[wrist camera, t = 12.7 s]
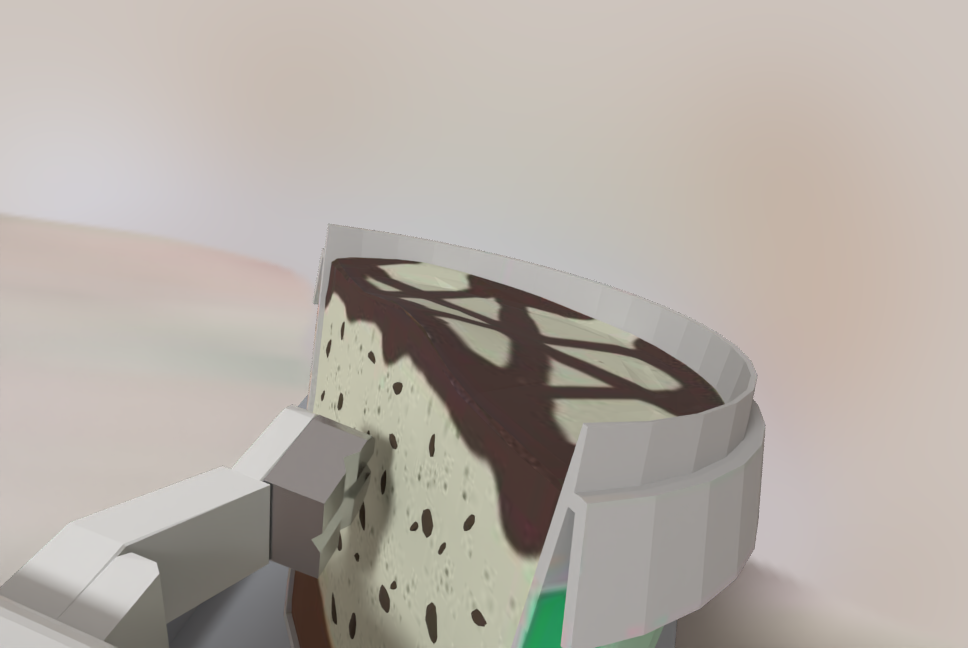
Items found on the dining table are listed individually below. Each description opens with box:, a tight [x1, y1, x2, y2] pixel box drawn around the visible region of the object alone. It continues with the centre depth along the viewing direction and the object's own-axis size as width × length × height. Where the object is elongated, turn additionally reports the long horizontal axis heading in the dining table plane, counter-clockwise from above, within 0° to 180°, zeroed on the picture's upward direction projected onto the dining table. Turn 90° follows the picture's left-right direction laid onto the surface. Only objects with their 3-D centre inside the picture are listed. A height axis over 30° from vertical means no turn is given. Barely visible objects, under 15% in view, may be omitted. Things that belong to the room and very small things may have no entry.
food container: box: [284, 224, 765, 648], centre depth 14 cm, size 12×6×10 cm, turn 23°
